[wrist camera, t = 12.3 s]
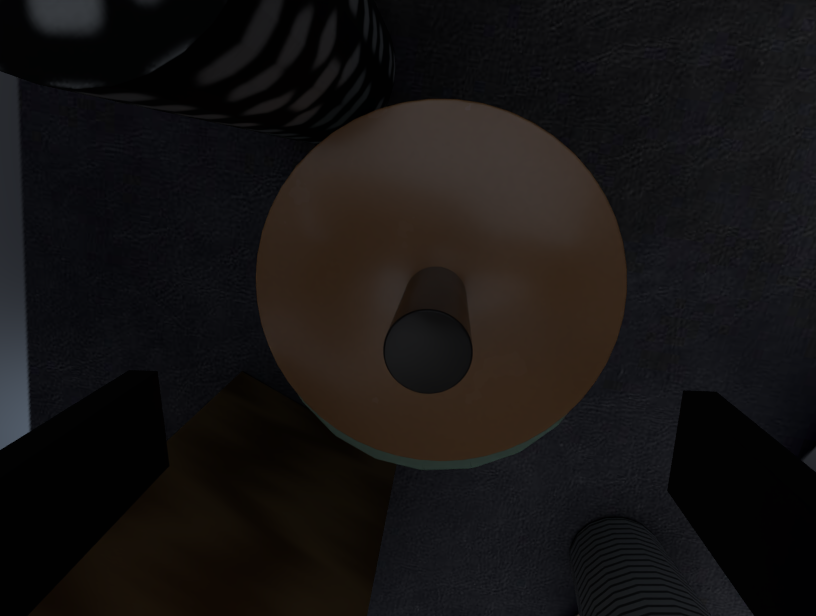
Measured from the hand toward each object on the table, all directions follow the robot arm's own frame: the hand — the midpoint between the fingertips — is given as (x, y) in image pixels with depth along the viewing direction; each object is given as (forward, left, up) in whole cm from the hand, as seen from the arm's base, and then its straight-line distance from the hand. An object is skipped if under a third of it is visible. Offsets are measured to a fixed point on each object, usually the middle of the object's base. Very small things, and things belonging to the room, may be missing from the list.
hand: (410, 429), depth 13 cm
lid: (0, +1, -10) cm, 10 cm away
